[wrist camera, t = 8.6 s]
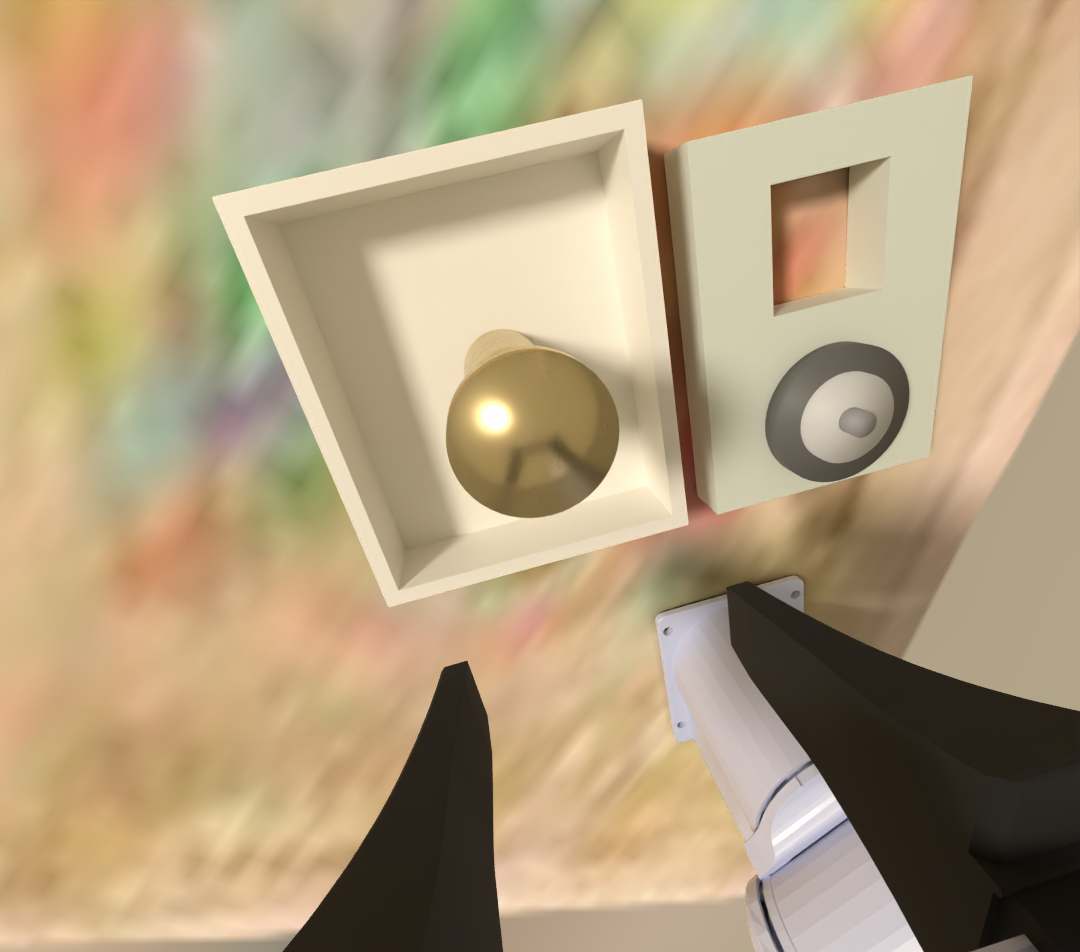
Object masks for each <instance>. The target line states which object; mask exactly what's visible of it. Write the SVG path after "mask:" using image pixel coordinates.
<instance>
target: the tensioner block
mask: <svg viewBox="0 0 1080 952" xmlns="http://www.w3.org/2000/svg"><path fill="white" fill-rule="evenodd" d="M972 80H973V75H971V76H967V77H962V78H958V79H954V80H950V81H945V82H941V83H937V84H932V85H928V86H924V87H920V88H915V89H911V90H907V91H902V92H898V93H894V94H890V95H885V96H881V97H877V98H872V99H868V100H864V101H860V102H855V103H851V104H847V105H842V106H838V107H834V108H829V109H825V110H821V111H817V112H812V113H808V114H804V115H799V116H795V117H791V118H787V119H782V120H778V121H774V122H769V123H765V124H761V125H757V126H752V127H748V128H744V129H739V130H735V131H731V132H726V133H722V134H718V135H714V136H709V137H705V138H701V139H696V140H692V141H688V142H686V143H684V144H682V145H680V146H678V147H676V148H675V149H673V150H671V151H669V152H667V153H666V154H664V163H665V173H666V183H667V193H668V204H669V214H670V224H671V234H672V244H673V254H674V264H675V275H676V285H677V295H678V305H679V315H680V325H681V335H682V345H683V356H684V366H685V376H686V386H687V396H688V406H689V416H690V426H691V437H692V447H693V457H694V467H695V477H696V487H697V496H698V497H699V498H700V499H701V500H702V501H704V502H705V503H706V504H707V505H708V506H709V507H710V508H711V509H712V510H713V511H714V512H715V513H716V514H717V515H718V514H722V513H725V512H729V511H733V510H736V509H740V508H744V507H747V506H751V505H755V504H758V503H762V502H765V501H769V500H773V499H776V498H780V497H784V496H787V495H791V494H795V493H798V492H802V491H805V490H809V489H813V488H816V487H820V486H824V485H827V484H831V483H835V482H838V481H842V480H845V479H849V478H853V477H856V476H860V475H864V474H867V473H871V472H875V471H878V470H882V469H885V468H889V467H893V466H896V465H900V464H904V463H907V462H911V461H915V460H918V459H922V458H926V457H929V456H930V450H931V441H932V432H933V423H934V414H935V406H936V397H937V388H938V379H939V370H940V362H941V353H942V344H943V335H944V326H945V318H946V309H947V300H948V291H949V282H950V274H951V265H952V256H953V247H954V238H955V230H956V221H957V212H958V203H959V194H960V186H961V177H962V168H963V159H964V150H965V142H966V133H967V124H968V115H969V106H970V98H971V89H972ZM846 167H849V191H848V221H847V252H846V282H845V288H841V289H837V290H833V291H829V292H825V293H821V294H817V295H813V296H809V297H805V298H801V299H797V300H793V301H789V302H785V303H782V304H778V305H774V306H773V271H772V229H771V185H776V184H780V183H784V182H788V181H792V180H796V179H801V178H805V177H809V176H813V175H817V174H821V173H826V172H830V171H834V170H838V169H842V168H846Z"/></svg>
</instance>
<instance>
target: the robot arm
mask: <svg viewBox="0 0 1080 952" xmlns="http://www.w3.org/2000/svg"><path fill="white" fill-rule="evenodd" d="M726 589H727V594H725V595H722V596H718V597H715V598H711V599H708V600H704V601H701V602H697V603H694V604H690V605H687V606H683V607H680V608H676V609H673V610H669V611H666V612H663V613H660V614H659V615H658V616H657V617H656V619H655V624H656V630H657V637H658V643H659V650H660V656H661V662H662V669H663V675H664V682H665V688H666V694H667V701H668V707H669V714H670V720H671V726H672V733H673V736H674V738H675V740H676V741H677V742H685V741H688V740H692V739H694V741H695V743H696V745H697V747H698V749H699V751H700V753H701V755H702V757H703V759H704V761H705V763H706V765H707V767H708V769H709V771H710V773H711V775H712V777H713V779H714V781H715V783H716V785H717V787H718V789H719V791H720V793H721V795H722V797H723V799H724V801H725V803H726V805H727V807H728V809H729V811H730V813H731V815H732V817H733V819H734V821H735V823H736V825H737V827H738V829H739V831H740V833H741V835H742V836H743V838H744V839H745V841H746V842H745V843H744V844H743V846H744V848H745V850H746V852H747V855H748V857H749V859H750V861H751V863H752V865H753V867H754V869H755V871H756V873H757V875H756V876H754V877H753V878H752V879H750V880H749V882H748V884H747V887H746V906H747V921H748V928H749V933H750V937H751V941H752V944H753V948H754V951H755V952H1080V711H1076V710H1071V709H1067V708H1062V707H1058V706H1053V705H1049V704H1045V703H1040V702H1036V701H1031V700H1028V699H1024V698H1020V697H1016V696H1013V695H1009V694H1005V693H1002V692H998V691H994V690H991V689H987V688H984V687H981V686H977V685H974V684H971V683H967V682H964V681H961V680H958V679H955V678H952V677H949V676H946V675H943V674H940V673H937V672H934V671H931V670H928V669H926V668H923V667H920V666H917V665H915V664H912V663H910V662H907V661H905V660H902V659H900V658H897V657H895V656H892V655H890V654H887V653H885V652H882V651H880V650H878V649H875V648H873V647H871V646H869V645H866V644H864V643H862V642H860V641H858V640H856V639H854V638H851V637H849V636H847V635H845V634H843V633H841V632H839V631H837V630H835V629H833V628H831V627H829V626H827V625H825V624H823V623H821V622H819V621H817V620H816V619H814V618H812V617H810V616H808V615H806V614H804V582H803V581H802V580H801V579H800V578H799V577H798V576H795V575H794V576H789V577H785V578H782V579H778V580H775V581H771V582H768V583H764V584H761V585H757V586H755V585H753V584H752V583H750V582H748V581H747V582H744V583H740V584H737V585H733V586H730V587H726ZM794 591H795V592H794ZM793 592H794V593H793ZM792 593H793V594H792ZM667 627H669V629H667V630H664V629H666V628H667ZM283 952H503V947H502V937H501V928H500V919H499V909H498V899H497V889H496V879H495V867H494V845H493V772H492V749H491V740H490V732H489V725H488V717H487V713H486V710H485V708H484V705H483V702H482V700H481V697H480V694H479V691H478V689H477V686H476V683H475V681H474V678H473V675H472V672H471V670H470V667H469V664H468V662H467V661H465V662H461V663H458V664H454V665H451V666H447V667H444V669H443V670H442V672H441V676H440V679H439V682H438V685H437V688H436V691H435V694H434V696H433V699H432V702H431V705H430V707H429V710H428V713H427V715H426V718H425V720H424V723H423V725H422V728H421V730H420V733H419V735H418V737H417V740H416V742H415V744H414V747H413V749H412V751H411V753H410V755H409V758H408V760H407V762H406V764H405V766H404V768H403V770H402V772H401V775H400V777H399V779H398V781H397V783H396V785H395V787H394V788H393V790H392V792H391V794H390V796H389V798H388V800H387V802H386V803H385V805H384V807H383V809H382V811H381V812H380V814H379V816H378V818H377V819H376V821H375V823H374V824H373V826H372V828H371V829H370V831H369V832H368V834H367V836H366V837H365V839H364V841H363V842H362V844H361V846H360V847H359V849H358V850H357V852H356V853H355V855H354V856H353V858H352V860H351V861H350V863H349V864H348V866H347V867H346V869H345V870H344V871H343V873H342V874H341V876H340V877H339V878H338V880H337V881H336V883H335V884H334V885H333V887H332V888H331V890H330V891H329V892H328V894H327V895H326V897H325V898H324V899H323V901H322V902H321V904H320V905H319V907H318V908H317V909H316V910H315V912H314V913H313V914H312V916H311V917H310V918H309V920H308V921H307V922H306V924H305V925H304V926H303V927H302V929H301V930H300V931H299V932H298V933H297V935H296V936H295V937H294V938H293V940H292V941H291V942H290V943H289V945H288V946H287V947H286V948H285V949H284V951H283Z"/></svg>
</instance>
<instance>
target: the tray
mask: <svg viewBox="0 0 1080 952" xmlns="http://www.w3.org/2000/svg"><path fill="white" fill-rule="evenodd" d="M212 199H213V202H214V204H215V206H216V209H217V211H218V213H219V216H220V218H221V220H222V222H223V225H224V227H225V229H226V232H227V234H228V236H229V239H230V241H231V243H232V246H233V248H234V250H235V253H236V255H237V257H238V260H239V262H240V264H241V267H242V269H243V271H244V273H245V276H246V278H247V280H248V283H249V285H250V287H251V290H252V292H253V294H254V297H255V299H256V301H257V304H258V306H259V308H260V311H261V313H262V315H263V318H264V320H265V322H266V325H267V327H268V329H269V331H270V334H271V336H272V338H273V341H274V343H275V345H276V348H277V350H278V352H279V355H280V357H281V359H282V362H283V364H284V366H285V369H286V371H287V373H288V376H289V378H290V380H291V382H292V385H293V387H294V389H295V392H296V394H297V396H298V399H299V401H300V403H301V406H302V408H303V410H304V413H305V415H306V417H307V420H308V422H309V424H310V427H311V429H312V431H313V434H314V436H315V438H316V440H317V443H318V445H319V447H320V450H321V452H322V454H323V457H324V459H325V461H326V464H327V466H328V468H329V471H330V473H331V475H332V478H333V480H334V482H335V485H336V487H337V489H338V491H339V494H340V496H341V498H342V501H343V503H344V505H345V508H346V510H347V512H348V515H349V517H350V519H351V522H352V524H353V526H354V529H355V531H356V533H357V536H358V538H359V540H360V543H361V545H362V547H363V549H364V552H365V554H366V556H367V559H368V561H369V563H370V566H371V568H372V570H373V573H374V575H375V577H376V580H377V582H378V584H379V587H380V589H381V591H382V594H383V596H384V598H385V600H386V603H387V605H388V607H391V606H395V605H399V604H402V603H406V602H410V601H413V600H417V599H420V598H424V597H428V596H431V595H435V594H439V593H442V592H446V591H450V590H453V589H457V588H460V587H464V586H468V585H471V584H475V583H479V582H482V581H486V580H490V579H493V578H497V577H500V576H504V575H508V574H511V573H515V572H519V571H522V570H526V569H529V568H533V567H537V566H540V565H544V564H548V563H551V562H555V561H559V560H562V559H566V558H569V557H573V556H577V555H580V554H584V553H588V552H591V551H595V550H599V549H602V548H606V547H609V546H613V545H617V544H620V543H624V542H628V541H631V540H635V539H639V538H642V537H646V536H649V535H653V534H657V533H660V532H664V531H668V530H671V529H675V528H679V527H682V526H686V525H689V524H688V515H687V506H686V497H685V488H684V478H683V469H682V460H681V451H680V442H679V433H678V424H677V415H676V406H675V396H674V387H673V378H672V369H671V360H670V351H669V342H668V333H667V324H666V314H665V305H664V296H663V287H662V278H661V269H660V260H659V251H658V242H657V233H656V223H655V214H654V205H653V196H652V187H651V178H650V169H649V160H648V151H647V141H646V132H645V123H644V114H643V105H642V99H641V100H637V101H632V102H628V103H623V104H619V105H615V106H610V107H606V108H601V109H597V110H593V111H588V112H584V113H579V114H575V115H571V116H566V117H562V118H557V119H553V120H549V121H544V122H540V123H535V124H531V125H527V126H522V127H518V128H513V129H509V130H505V131H500V132H496V133H491V134H487V135H483V136H478V137H474V138H469V139H465V140H461V141H456V142H452V143H447V144H443V145H439V146H434V147H430V148H425V149H421V150H417V151H412V152H408V153H403V154H399V155H395V156H390V157H386V158H381V159H377V160H373V161H368V162H364V163H359V164H355V165H351V166H346V167H342V168H337V169H333V170H329V171H324V172H320V173H315V174H311V175H307V176H302V177H298V178H293V179H289V180H284V181H280V182H276V183H271V184H267V185H262V186H258V187H254V188H249V189H245V190H240V191H236V192H232V193H227V194H223V195H218V196H214V197H212ZM496 329H509V330H513V331H516V332H519V333H521V334H522V335H524V336H525V337H527V338H528V339H529V340H530V341H531V342H532V343H533V344H534V345H535V346H544V347H549V348H553V349H557V350H559V351H562V352H564V353H567V354H569V355H570V356H572V357H574V358H576V359H577V360H578V361H580V362H581V363H582V364H584V365H585V366H586V367H588V368H589V369H590V370H591V371H593V372H594V373H595V374H596V375H597V376H598V377H599V378H600V379H601V381H602V382H603V383H604V385H605V386H606V387H607V389H608V391H609V393H610V394H611V396H612V398H613V401H614V403H615V406H616V409H617V414H618V418H619V429H620V430H619V443H618V448H617V452H616V456H615V459H614V462H613V464H612V466H611V468H610V470H609V472H608V473H607V475H606V477H605V478H604V480H603V481H602V482H601V484H600V485H599V486H598V487H597V488H596V489H595V490H594V491H593V492H592V493H591V494H590V495H589V496H588V497H587V498H585V499H584V500H583V501H582V502H580V503H578V504H577V505H575V506H573V507H572V508H570V509H567V510H565V511H563V512H560V513H557V514H554V515H551V516H546V517H539V518H518V517H512V516H507V515H504V514H500V513H498V512H495V511H493V510H491V509H489V508H487V507H485V506H484V505H482V504H480V503H479V502H478V501H476V500H475V499H474V498H473V497H472V496H471V495H470V494H469V493H468V492H467V491H466V490H465V489H464V488H463V487H462V485H461V484H460V483H459V481H458V480H457V478H456V476H455V474H454V472H453V470H452V468H451V465H450V462H449V459H448V454H447V448H446V425H447V416H448V411H449V406H450V404H451V401H452V398H453V396H454V394H455V392H456V390H457V388H458V386H459V385H460V383H461V382H462V380H463V379H464V378H465V376H464V362H465V357H466V354H467V352H468V350H469V348H470V346H471V345H472V343H473V342H474V341H475V340H476V339H477V338H478V337H480V336H481V335H483V334H484V333H487V332H489V331H492V330H496Z"/></svg>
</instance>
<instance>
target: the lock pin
mask: <svg viewBox="0 0 1080 952" xmlns="http://www.w3.org/2000/svg"><path fill="white" fill-rule="evenodd" d="M464 376H465V378H464V379H463V380H462V382H461V383H460V385H459V386H458V388H457V390H456V392H455V394H454V396H453V398H452V401H451V404H450V406H449V411H448V416H447V425H446V448H447V454H448V459H449V462H450V465H451V468H452V470H453V472H454V474H455V476H456V478H457V480H458V481H459V483H460V484H461V485H462V487H463V488H464V489H465V490H466V491H467V492H468V493H469V494H470V495H471V496H472V497H473V498H474V499H475V500H476V501H478V502H479V503H480V504H482V505H484V506H485V507H487V508H489V509H491V510H493V511H495V512H498V513H500V514H504V515H507V516H512V517H518V518H539V517H546V516H551V515H554V514H557V513H560V512H563V511H565V510H567V509H570V508H572V507H573V506H575V505H577V504H578V503H580V502H582V501H583V500H584V499H585V498H587V497H588V496H589V495H590V494H591V493H592V492H593V491H594V490H595V489H596V488H597V487H598V486H599V485H600V484H601V482H602V481H603V480H604V478H605V477H606V475H607V473H608V472H609V470H610V468H611V466H612V464H613V462H614V459H615V456H616V452H617V448H618V443H619V430H620V429H619V418H618V414H617V409H616V406H615V403H614V401H613V398H612V396H611V394H610V393H609V391H608V389H607V387H606V386H605V385H604V383H603V382H602V381H601V379H600V378H599V377H598V376H597V375H596V374H595V373H594V372H593V371H591V370H590V369H589V368H588V367H586V366H585V365H584V364H582V363H581V362H580V361H578V360H577V359H576V358H574V357H572V356H570V355H569V354H567V353H564V352H562V351H559V350H557V349H553V348H549V347H544V346H535V345H534V344H533V343H532V342H531V341H530V340H529V339H528V338H527V337H525V336H524V335H522V334H521V333H519V332H516V331H513V330H509V329H496V330H492V331H489V332H487V333H484V334H483V335H481V336H480V337H478V338H477V339H476V340H475V341H474V342H473V343H472V345H471V346H470V348H469V350H468V352H467V354H466V357H465V362H464Z"/></svg>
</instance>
